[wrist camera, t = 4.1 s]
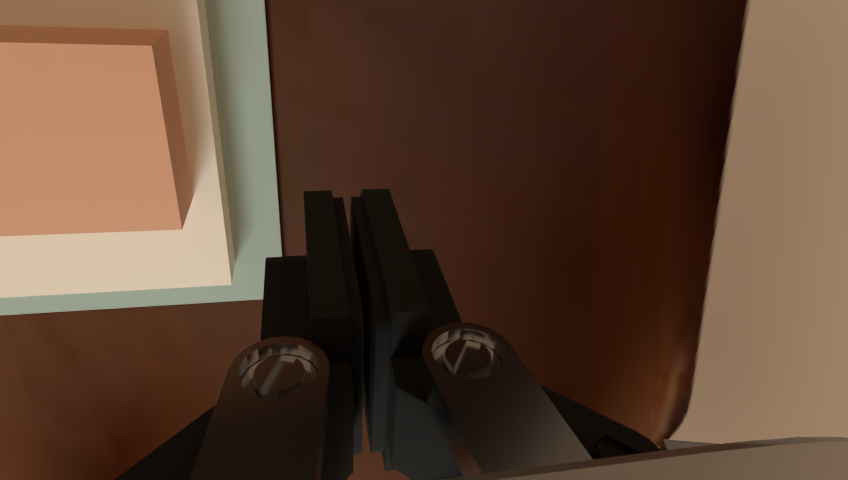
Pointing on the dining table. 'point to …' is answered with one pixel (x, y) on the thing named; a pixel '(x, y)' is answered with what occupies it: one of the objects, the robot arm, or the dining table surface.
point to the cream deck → (209, 212)
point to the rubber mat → (243, 164)
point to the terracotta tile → (90, 132)
